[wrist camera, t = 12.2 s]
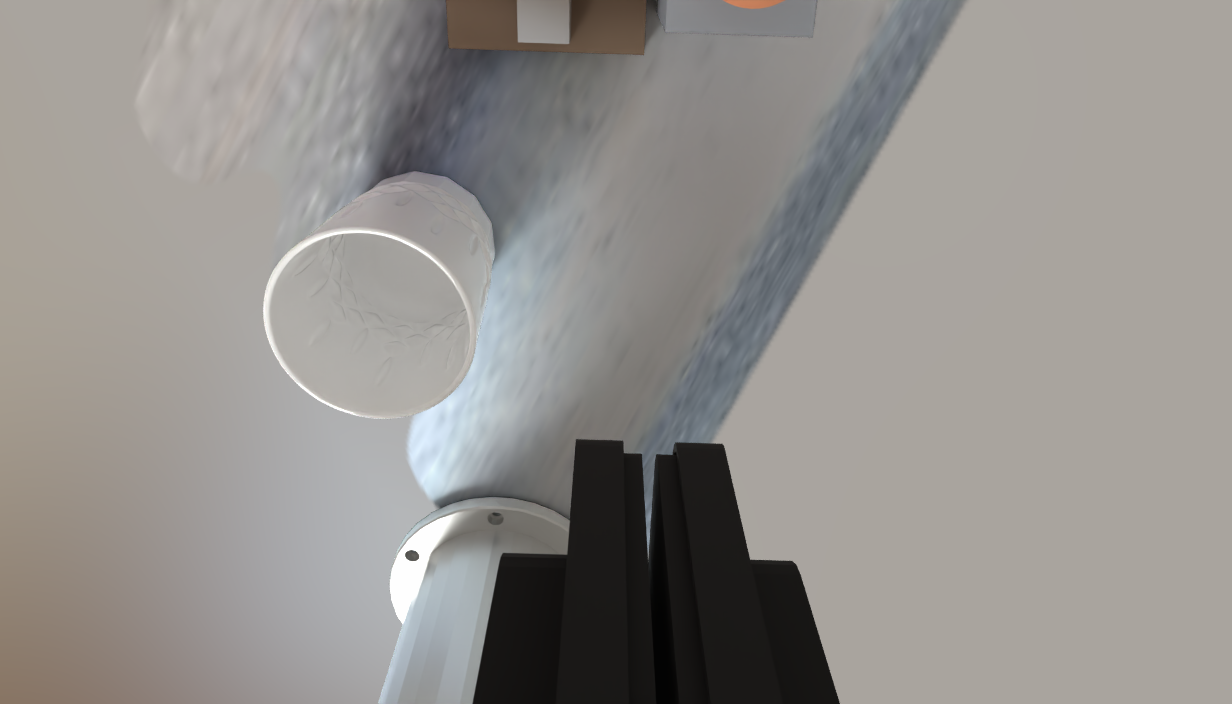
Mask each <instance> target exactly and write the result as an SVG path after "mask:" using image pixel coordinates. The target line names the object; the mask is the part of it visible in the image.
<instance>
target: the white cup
mask: <svg viewBox="0 0 1232 704" xmlns="http://www.w3.org/2000/svg"><path fill="white" fill-rule="evenodd" d="M494 257H495V247H494V238H493V228H492V223H491V221H490V220H489V218H488V216H487V215H486V213H485V212H484V210H483V208H482V207H481V205H480V203H479V202H478V200H477V199H476V197H475V196H474V195H473V194H471V193H470V192H468V191H467V190H465V189H464V188H463V187H461V186H460V185H458V184H457V183H455V182H454V181H452V180H451V179H449V178H448V177H444V176H439V175H434V174H428V173H423V172H418V171H412V172H408V173H405V174H401V175H397V176H394V177H390V178H386V179H383V180H382V181H381V182H379V183H378V184H377V185H376V186H375V187H374V188H372V189H371V190H369V191H367V192H366V193H364V194H362V195H360V196H358V197H357V198H355V199H354V200H353V201H351V202H350V203H349V204H347V205H346V206H344V207H343V208H341V209H340V210H339V211H338V212H336V213H335V214H334V215H333V216H331V217H330V218H329V219H328V220H326V221H325V222H324V223H323V224H322V225H320V226H319V227H318V228H317V229H315V230H314V231H313V232H312V233H311V234H309V235H308V236H307V237H305V238H304V239H303V240H302V241H300V242H299V243H298V244H297V245H295V246H294V247H293V248H292V249H291V250H289V251H288V252H287V253H286V254H285V255H284V257H283V258H282V259H281V260H280V261H279V263H278V264H277V266H276V267H275V269H274V271H273V272H272V274H271V276H270V279H269V281H268V284H267V287H266V291H265V296H264V304H263V316H264V325H265V329H266V334H267V337H268V340H269V343H270V345H271V348H272V350H273V352H274V354H275V356H276V358H277V359H278V361H279V362H280V364H281V365H282V367H283V368H284V369H285V371H286V372H287V373H288V375H289V376H290V377H291V378H292V379H293V380H294V381H295V382H296V383H297V384H298V385H299V386H300V387H301V388H303V389H304V390H305V391H306V392H307V393H309V394H310V395H312V396H313V397H315V398H316V399H318V400H319V401H321V402H323V403H325V404H327V405H328V406H331V407H333V408H335V409H338V410H340V411H343V412H346V413H349V414H352V415H356V416H361V417H367V418H378V419H391V418H399V417H406V416H410V415H414V414H417V413H420V412H423V411H425V410H428V409H430V408H432V407H434V406H435V405H437V404H439V403H440V402H442V401H443V400H444V399H446V398H447V397H448V396H449V395H450V394H451V393H452V392H453V391H454V390H455V389H456V388H457V387H458V386H459V385H460V383H461V382H462V381H463V379H464V378H465V376H466V374H467V372H468V370H469V368H470V366H471V363H472V361H473V357H474V353H475V349H476V345H477V340H478V336H479V332H480V328H481V324H482V320H483V316H484V312H485V308H486V304H487V299H488V292H489V287H490V283H491V273H492V265H493V261H494Z"/></svg>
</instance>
